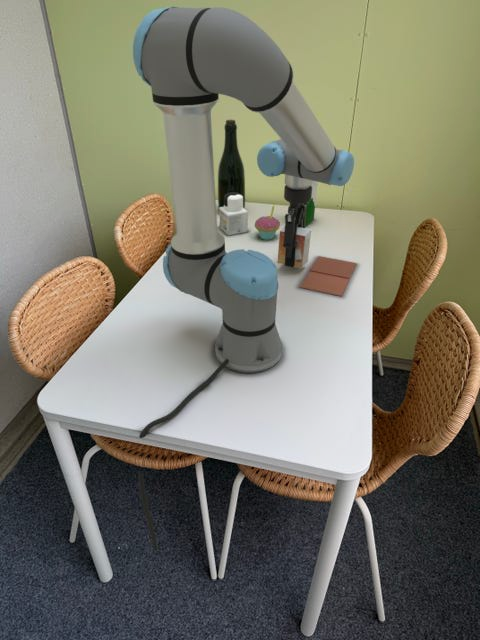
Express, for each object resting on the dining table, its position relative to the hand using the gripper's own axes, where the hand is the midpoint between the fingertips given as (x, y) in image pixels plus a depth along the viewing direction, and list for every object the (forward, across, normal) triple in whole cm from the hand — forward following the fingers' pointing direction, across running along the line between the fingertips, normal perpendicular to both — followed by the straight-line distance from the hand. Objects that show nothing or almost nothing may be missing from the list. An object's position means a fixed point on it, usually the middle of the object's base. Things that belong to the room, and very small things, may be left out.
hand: (292, 261), depth 132 cm
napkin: (+2, 0, -12) cm, 12 cm away
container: (+3, +19, +28) cm, 34 cm away
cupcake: (+3, +18, +15) cm, 24 cm away
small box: (+1, 0, 0) cm, 1 cm away
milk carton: (+3, +36, +8) cm, 37 cm away
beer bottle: (+3, +35, +36) cm, 50 cm away
